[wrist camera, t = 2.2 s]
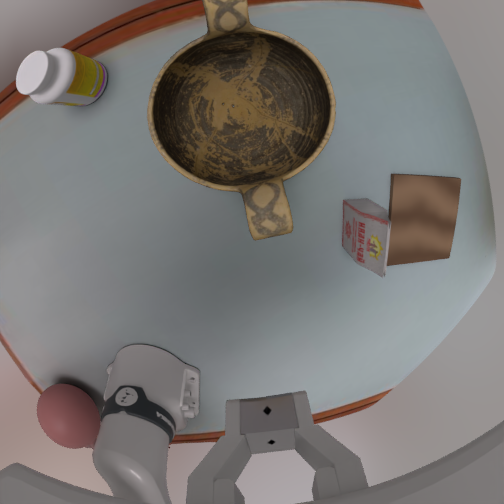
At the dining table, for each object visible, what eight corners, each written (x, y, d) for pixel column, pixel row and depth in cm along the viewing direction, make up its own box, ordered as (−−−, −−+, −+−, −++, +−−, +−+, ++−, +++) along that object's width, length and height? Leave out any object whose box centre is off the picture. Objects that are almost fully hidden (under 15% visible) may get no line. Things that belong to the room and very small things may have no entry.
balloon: (84, 420, 56) (69, 464, 42) (40, 370, 48) (15, 416, 34) (128, 422, 56) (116, 473, 42) (83, 369, 48) (58, 425, 34)
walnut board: (446, 256, 41) (449, 258, 41) (382, 263, 41) (384, 266, 40) (458, 177, 36) (461, 178, 35) (391, 173, 35) (393, 174, 35)
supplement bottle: (102, 52, 26) (51, 28, 14) (114, 91, 29) (62, 78, 17) (63, 77, 27) (6, 67, 15) (74, 115, 29) (15, 116, 18)
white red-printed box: (367, 198, 37) (404, 220, 28) (364, 243, 40) (397, 275, 30) (343, 199, 37) (375, 222, 28) (342, 245, 39) (370, 279, 30)
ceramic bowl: (320, 188, 36) (370, 224, 22) (192, 213, 36) (167, 264, 23) (290, 26, 27) (323, -28, 13) (157, 51, 27) (111, 9, 14)
